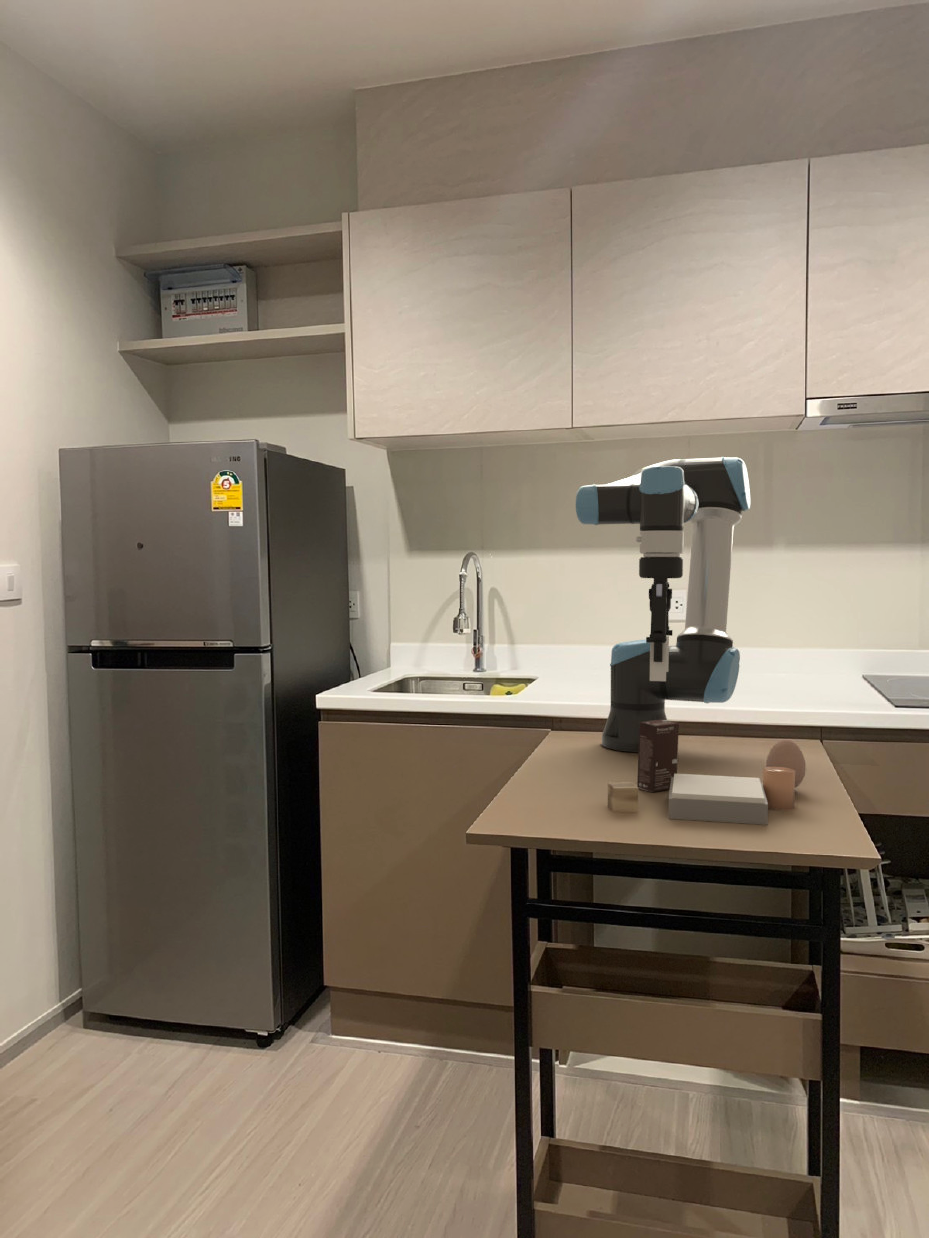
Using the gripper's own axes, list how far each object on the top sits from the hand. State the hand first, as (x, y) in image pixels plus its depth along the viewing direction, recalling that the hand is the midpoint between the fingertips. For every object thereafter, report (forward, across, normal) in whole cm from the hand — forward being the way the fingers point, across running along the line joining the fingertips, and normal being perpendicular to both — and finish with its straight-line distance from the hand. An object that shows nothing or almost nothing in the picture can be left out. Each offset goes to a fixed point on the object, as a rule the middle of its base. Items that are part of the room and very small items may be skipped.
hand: (659, 676), depth 170 cm
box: (+20, 0, 0) cm, 20 cm away
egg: (+20, -4, +22) cm, 30 cm away
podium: (+20, +12, +10) cm, 25 cm away
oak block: (+20, +15, -5) cm, 26 cm away
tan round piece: (+20, +7, +20) cm, 29 cm away
